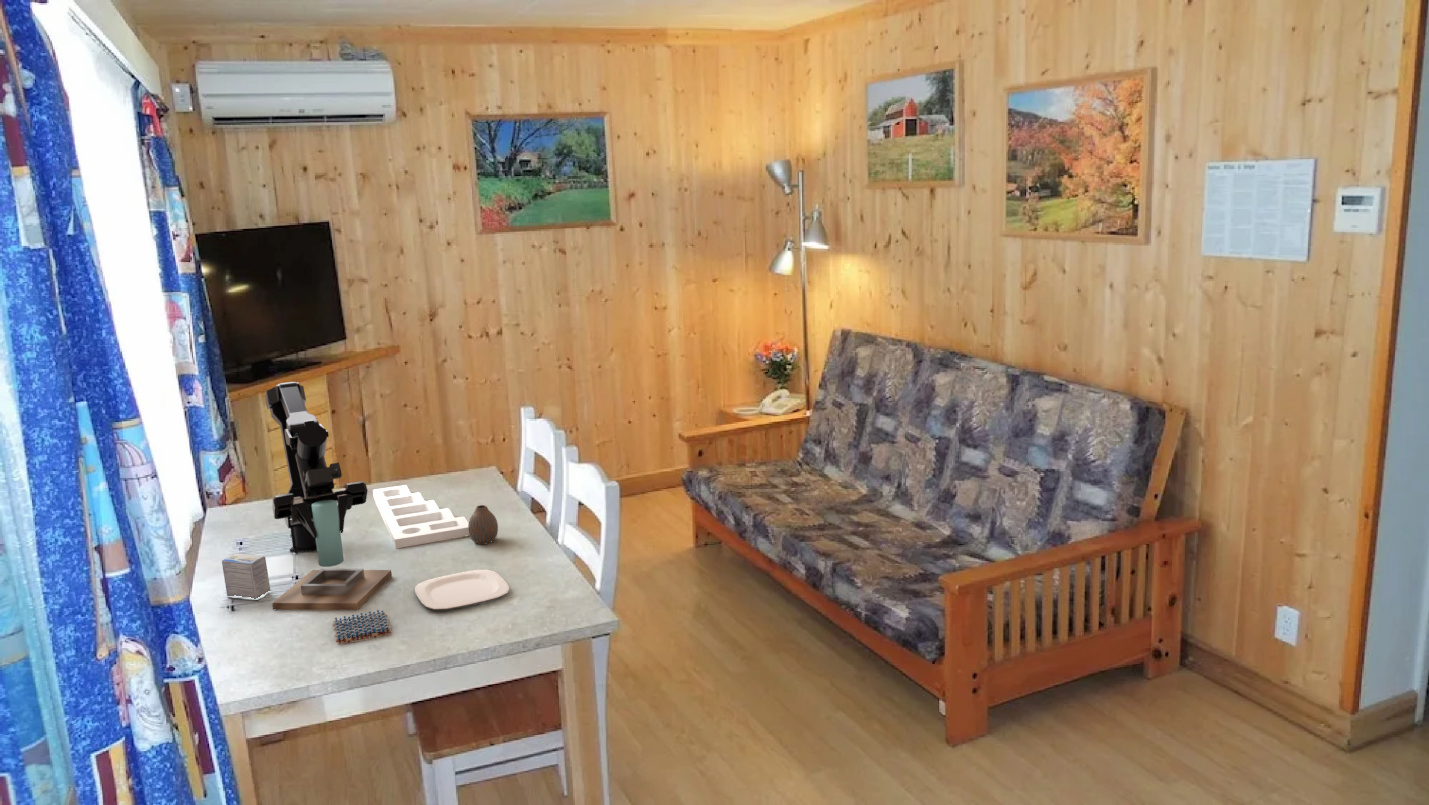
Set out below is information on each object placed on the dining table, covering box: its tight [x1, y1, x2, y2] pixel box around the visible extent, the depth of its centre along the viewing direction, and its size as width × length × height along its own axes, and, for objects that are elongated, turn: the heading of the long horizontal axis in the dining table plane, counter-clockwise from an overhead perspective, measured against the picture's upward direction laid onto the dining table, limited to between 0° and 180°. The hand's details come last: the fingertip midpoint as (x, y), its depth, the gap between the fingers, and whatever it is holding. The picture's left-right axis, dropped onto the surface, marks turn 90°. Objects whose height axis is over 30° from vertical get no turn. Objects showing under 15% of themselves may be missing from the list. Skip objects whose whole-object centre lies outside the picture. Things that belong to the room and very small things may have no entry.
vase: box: [468, 504, 499, 545], centre depth 251 cm, size 7×7×9 cm
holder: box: [372, 484, 470, 549], centre depth 273 cm, size 45×18×3 cm, turn 24°
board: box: [271, 568, 393, 611], centre depth 224 cm, size 18×18×4 cm
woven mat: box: [332, 609, 393, 645], centre depth 205 cm, size 10×11×2 cm
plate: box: [414, 569, 511, 611], centre depth 221 cm, size 18×18×2 cm
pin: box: [312, 500, 345, 568], centre depth 221 cm, size 5×5×13 cm
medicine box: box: [221, 553, 272, 599], centre depth 223 cm, size 8×4×9 cm, turn 71°
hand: (328, 534), depth 220 cm, fingers closed on pin, 5 cm apart
